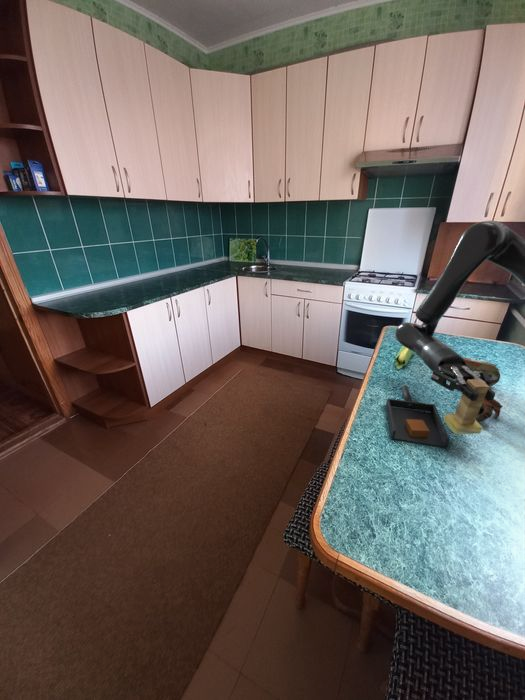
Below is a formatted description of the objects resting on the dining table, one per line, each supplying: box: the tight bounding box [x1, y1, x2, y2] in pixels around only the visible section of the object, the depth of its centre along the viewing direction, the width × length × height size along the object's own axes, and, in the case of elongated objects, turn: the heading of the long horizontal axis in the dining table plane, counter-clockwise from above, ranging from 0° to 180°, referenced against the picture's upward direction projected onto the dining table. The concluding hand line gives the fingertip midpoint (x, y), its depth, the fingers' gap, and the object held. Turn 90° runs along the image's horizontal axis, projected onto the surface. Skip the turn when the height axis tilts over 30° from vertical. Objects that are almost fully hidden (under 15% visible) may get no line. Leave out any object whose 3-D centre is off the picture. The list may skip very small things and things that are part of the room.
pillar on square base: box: [443, 379, 490, 435], centre depth 69 cm, size 6×5×13 cm
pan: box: [385, 384, 450, 449], centre depth 86 cm, size 25×13×3 cm, turn 165°
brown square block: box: [405, 419, 429, 438], centre depth 79 cm, size 4×4×2 cm
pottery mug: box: [476, 398, 503, 422], centre depth 84 cm, size 12×10×8 cm
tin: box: [461, 356, 501, 387], centre depth 100 cm, size 15×3×8 cm, turn 55°
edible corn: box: [394, 345, 415, 370], centre depth 115 cm, size 5×20×5 cm, turn 144°
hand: (483, 397), depth 64 cm, fingers closed on pillar on square base, 3 cm apart
